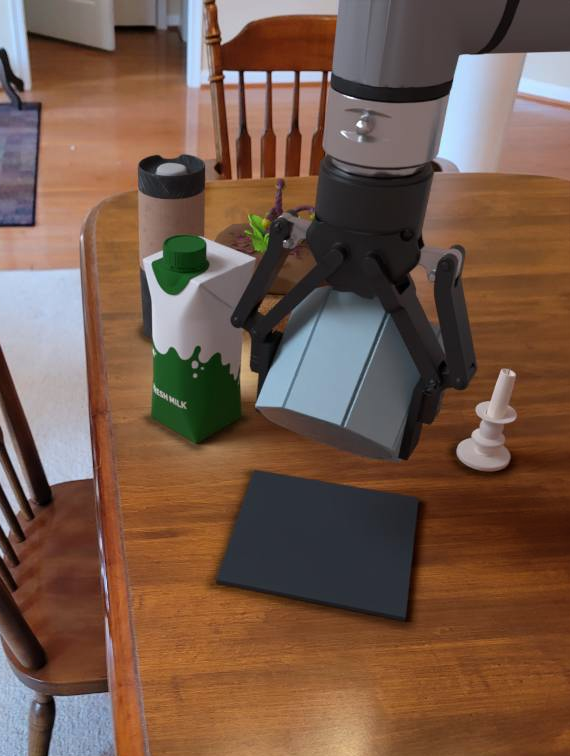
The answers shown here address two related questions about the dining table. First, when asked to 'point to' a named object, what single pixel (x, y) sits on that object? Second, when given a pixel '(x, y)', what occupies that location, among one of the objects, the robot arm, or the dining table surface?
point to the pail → (342, 375)
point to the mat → (323, 544)
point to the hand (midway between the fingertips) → (334, 427)
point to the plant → (255, 244)
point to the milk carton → (196, 334)
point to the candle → (491, 429)
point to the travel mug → (167, 210)
